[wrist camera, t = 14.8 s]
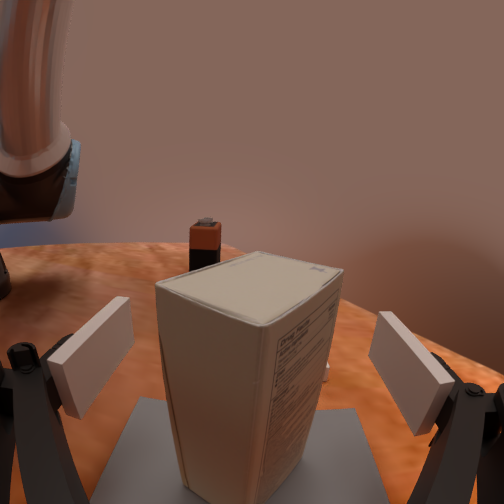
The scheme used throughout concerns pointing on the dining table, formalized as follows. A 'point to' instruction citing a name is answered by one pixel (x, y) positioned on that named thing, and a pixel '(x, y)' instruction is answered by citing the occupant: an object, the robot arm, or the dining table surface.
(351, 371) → the dining table surface
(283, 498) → the grey mat
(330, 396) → the dining table surface
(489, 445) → the robot arm
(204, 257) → the battery
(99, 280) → the dining table surface
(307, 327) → the skincare box
